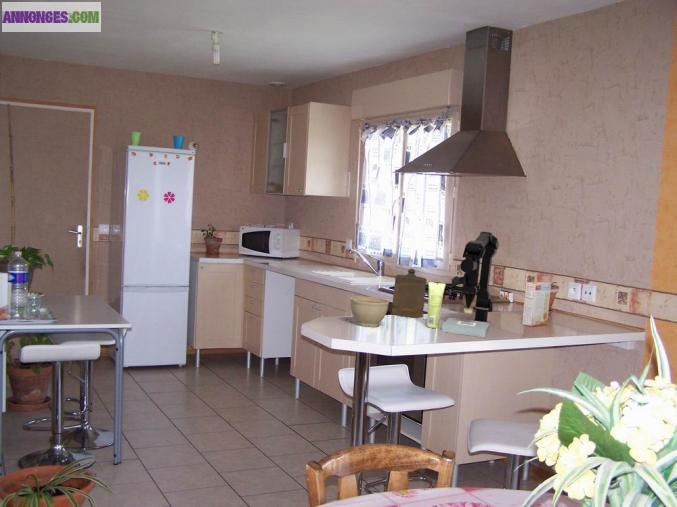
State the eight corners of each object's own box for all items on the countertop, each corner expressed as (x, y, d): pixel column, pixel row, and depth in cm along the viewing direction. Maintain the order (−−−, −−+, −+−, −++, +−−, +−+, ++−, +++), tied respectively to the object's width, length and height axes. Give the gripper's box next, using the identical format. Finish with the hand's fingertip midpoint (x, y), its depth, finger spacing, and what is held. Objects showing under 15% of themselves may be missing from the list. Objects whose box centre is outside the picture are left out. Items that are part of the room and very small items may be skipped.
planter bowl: (343, 320, 304) (346, 295, 303) (379, 322, 308) (382, 297, 307) (354, 328, 288) (356, 301, 287) (391, 329, 292) (394, 303, 291)
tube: (431, 325, 311) (436, 281, 310) (441, 327, 308) (445, 283, 306) (423, 326, 307) (428, 282, 306) (433, 328, 304) (438, 283, 302)
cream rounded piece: (462, 311, 310) (464, 293, 310) (475, 312, 309) (477, 294, 308) (460, 312, 305) (462, 294, 304) (474, 314, 303) (476, 296, 303)
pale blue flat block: (448, 323, 320) (449, 317, 320) (489, 329, 316) (489, 322, 315) (441, 331, 299) (442, 324, 299) (484, 337, 294) (485, 330, 294)
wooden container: (415, 312, 345) (420, 268, 343) (427, 318, 331) (432, 271, 329) (387, 311, 341) (391, 266, 339) (397, 317, 327) (402, 269, 325)
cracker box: (536, 323, 348) (541, 280, 346) (547, 325, 344) (552, 282, 342) (520, 324, 338) (525, 281, 337) (531, 327, 334) (537, 283, 332)
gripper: (456, 267, 317) (452, 302, 318) (450, 270, 299) (447, 307, 300) (481, 270, 314) (477, 305, 315) (477, 273, 296) (473, 310, 297)
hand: (468, 307), depth 307 cm, fingers closed on cream rounded piece, 6 cm apart
